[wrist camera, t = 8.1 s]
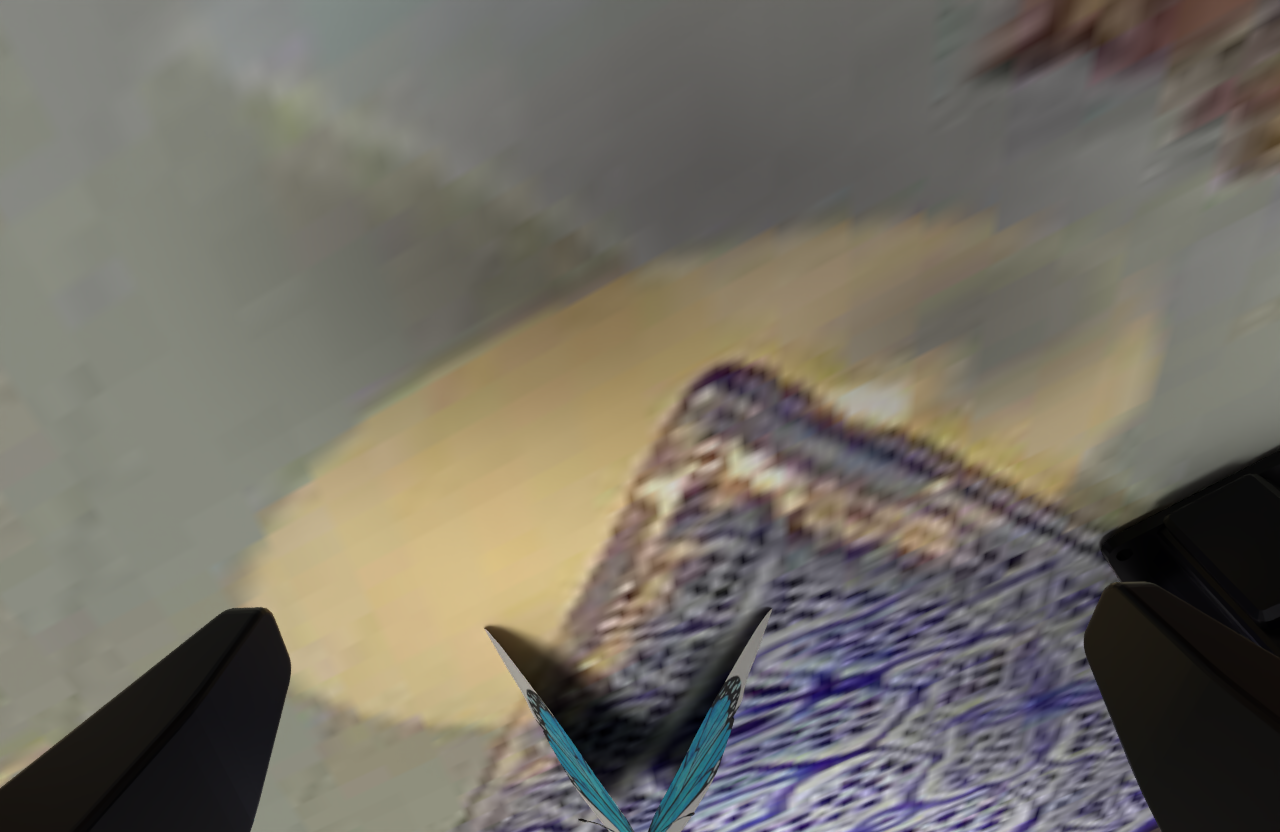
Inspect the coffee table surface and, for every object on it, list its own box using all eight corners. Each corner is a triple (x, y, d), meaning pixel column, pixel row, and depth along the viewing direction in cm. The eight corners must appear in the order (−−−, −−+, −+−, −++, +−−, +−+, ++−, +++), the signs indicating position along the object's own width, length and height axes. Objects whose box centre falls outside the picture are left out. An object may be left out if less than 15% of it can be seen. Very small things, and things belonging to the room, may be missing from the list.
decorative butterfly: (516, 903, 28) (454, 829, 21) (526, 729, 33) (478, 618, 25) (784, 887, 28) (815, 806, 21) (757, 714, 32) (776, 598, 25)
